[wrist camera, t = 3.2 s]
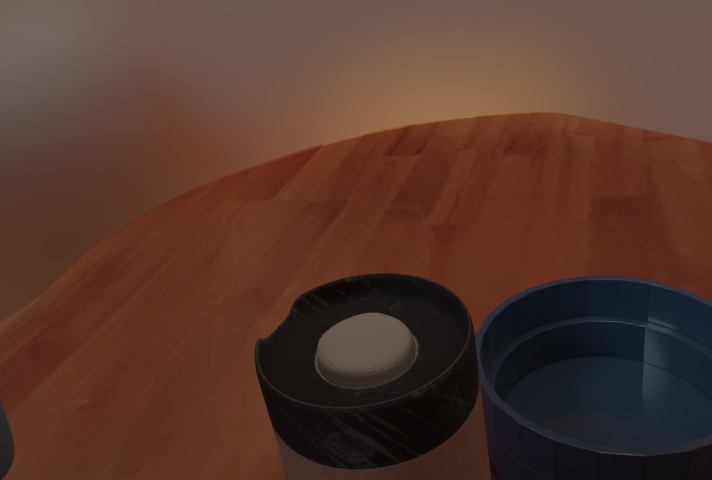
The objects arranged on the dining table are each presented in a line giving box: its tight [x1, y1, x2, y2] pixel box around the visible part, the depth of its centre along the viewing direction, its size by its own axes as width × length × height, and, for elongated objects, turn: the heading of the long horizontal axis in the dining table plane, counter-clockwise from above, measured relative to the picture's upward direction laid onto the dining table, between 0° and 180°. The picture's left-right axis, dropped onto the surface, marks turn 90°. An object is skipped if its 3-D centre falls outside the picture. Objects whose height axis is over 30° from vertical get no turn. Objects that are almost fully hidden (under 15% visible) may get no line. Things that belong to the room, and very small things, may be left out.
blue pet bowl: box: [475, 276, 712, 480], centre depth 40 cm, size 16×16×7 cm
